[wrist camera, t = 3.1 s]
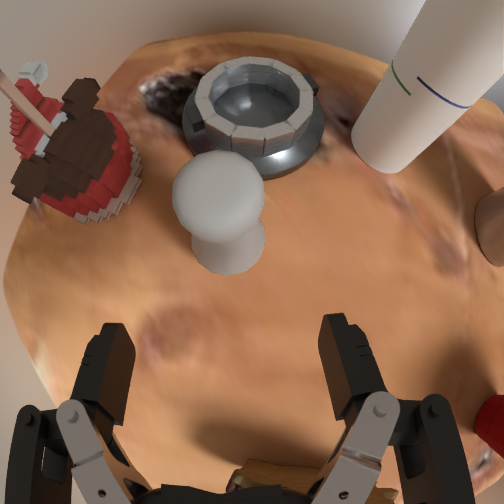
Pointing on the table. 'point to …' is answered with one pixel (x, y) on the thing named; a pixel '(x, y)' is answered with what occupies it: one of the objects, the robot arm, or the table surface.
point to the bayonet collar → (256, 114)
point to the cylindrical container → (431, 80)
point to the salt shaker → (221, 210)
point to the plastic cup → (492, 423)
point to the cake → (69, 148)
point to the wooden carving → (292, 480)
